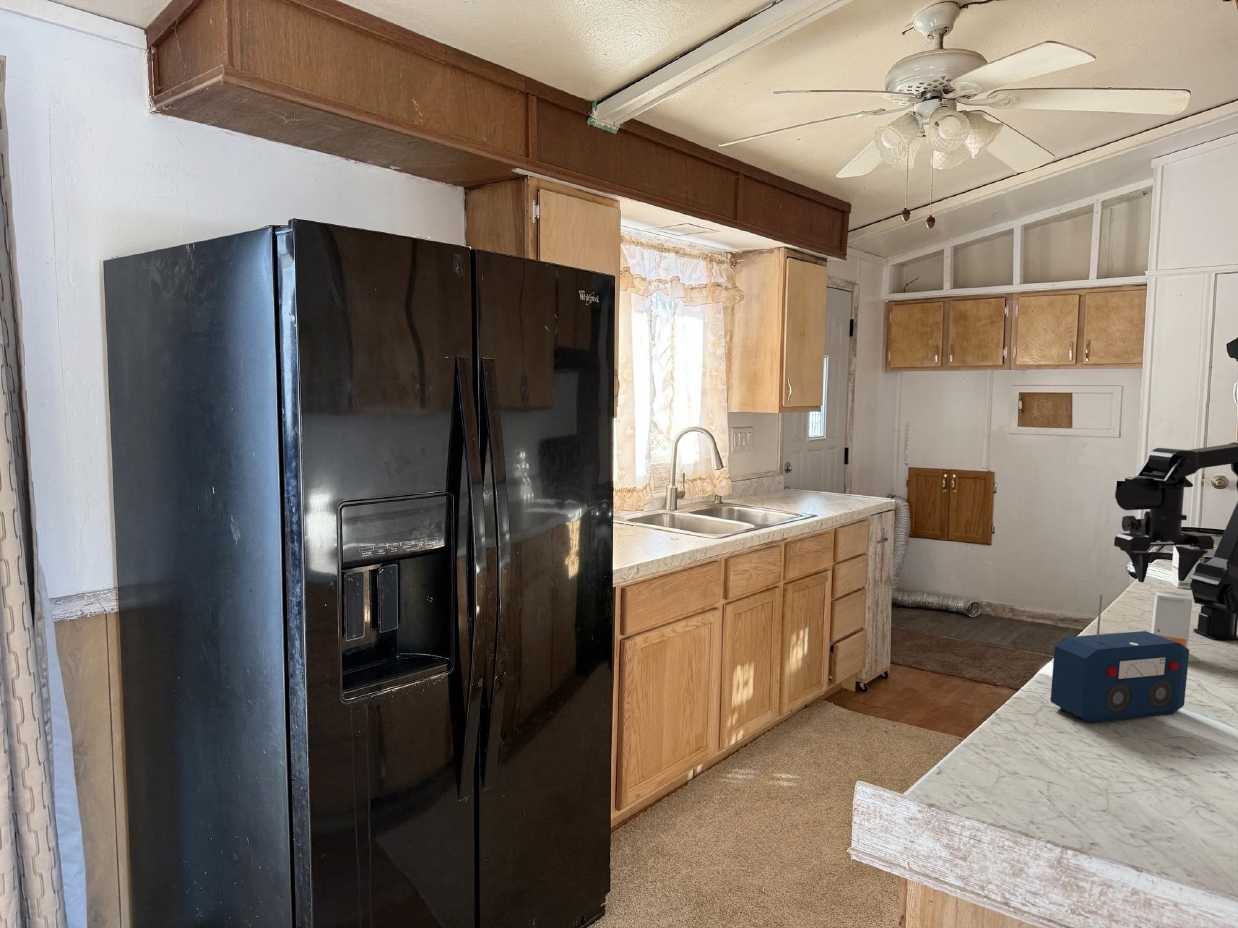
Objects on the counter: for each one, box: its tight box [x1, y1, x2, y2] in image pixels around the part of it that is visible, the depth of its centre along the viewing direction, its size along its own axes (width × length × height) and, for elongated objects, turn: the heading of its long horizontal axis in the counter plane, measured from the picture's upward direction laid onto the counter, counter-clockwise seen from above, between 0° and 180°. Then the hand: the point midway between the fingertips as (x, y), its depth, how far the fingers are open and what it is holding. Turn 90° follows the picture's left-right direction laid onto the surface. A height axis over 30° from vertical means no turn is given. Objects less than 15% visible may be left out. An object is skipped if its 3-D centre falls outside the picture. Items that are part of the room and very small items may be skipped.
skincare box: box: [1150, 590, 1193, 648], centre depth 170 cm, size 6×4×12 cm
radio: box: [1050, 594, 1190, 724], centre depth 140 cm, size 21×9×20 cm, turn 105°
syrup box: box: [1170, 545, 1205, 590], centre depth 229 cm, size 6×6×14 cm
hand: (1161, 581), depth 180 cm, fingers open, 9 cm apart
